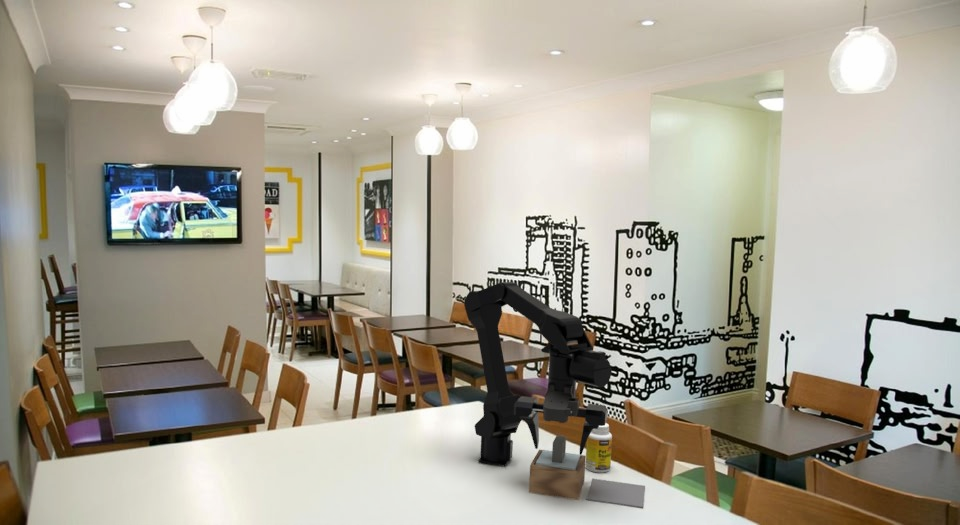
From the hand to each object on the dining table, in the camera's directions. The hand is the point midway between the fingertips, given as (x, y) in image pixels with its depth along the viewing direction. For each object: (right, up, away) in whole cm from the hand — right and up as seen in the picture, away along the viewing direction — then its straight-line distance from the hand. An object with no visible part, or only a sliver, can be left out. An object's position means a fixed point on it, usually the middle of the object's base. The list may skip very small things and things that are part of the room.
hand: (558, 451), depth 136 cm
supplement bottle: (+10, -8, +11) cm, 17 cm away
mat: (+12, -8, -2) cm, 14 cm away
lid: (0, -3, 0) cm, 3 cm away
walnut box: (0, -8, 0) cm, 8 cm away
